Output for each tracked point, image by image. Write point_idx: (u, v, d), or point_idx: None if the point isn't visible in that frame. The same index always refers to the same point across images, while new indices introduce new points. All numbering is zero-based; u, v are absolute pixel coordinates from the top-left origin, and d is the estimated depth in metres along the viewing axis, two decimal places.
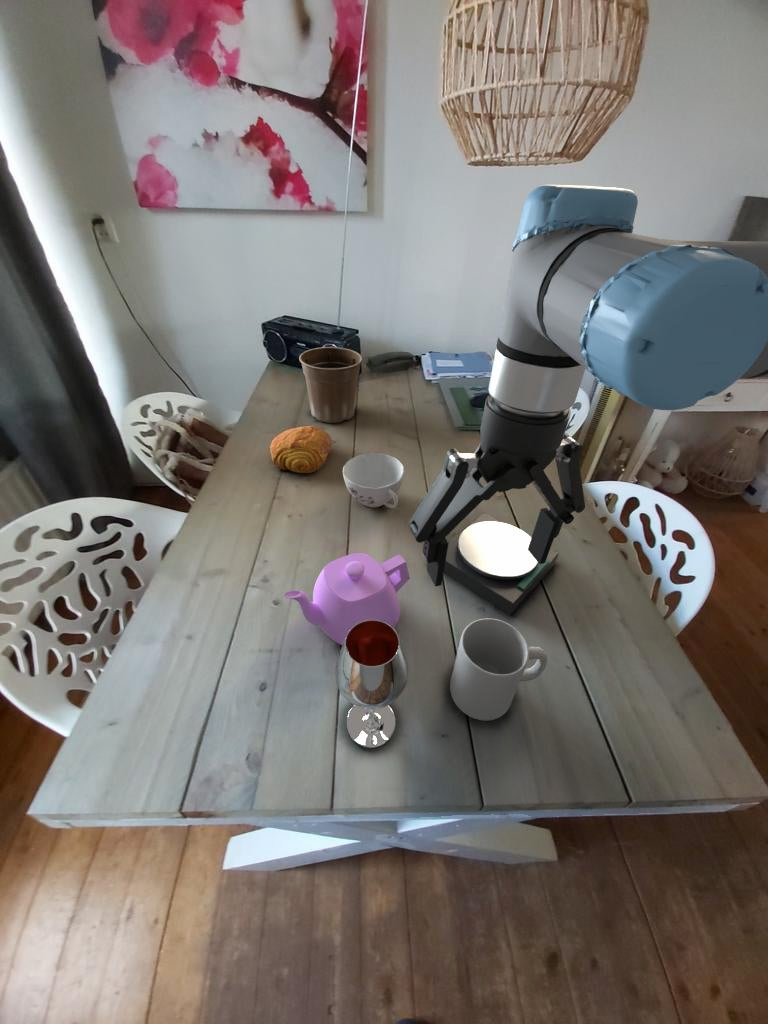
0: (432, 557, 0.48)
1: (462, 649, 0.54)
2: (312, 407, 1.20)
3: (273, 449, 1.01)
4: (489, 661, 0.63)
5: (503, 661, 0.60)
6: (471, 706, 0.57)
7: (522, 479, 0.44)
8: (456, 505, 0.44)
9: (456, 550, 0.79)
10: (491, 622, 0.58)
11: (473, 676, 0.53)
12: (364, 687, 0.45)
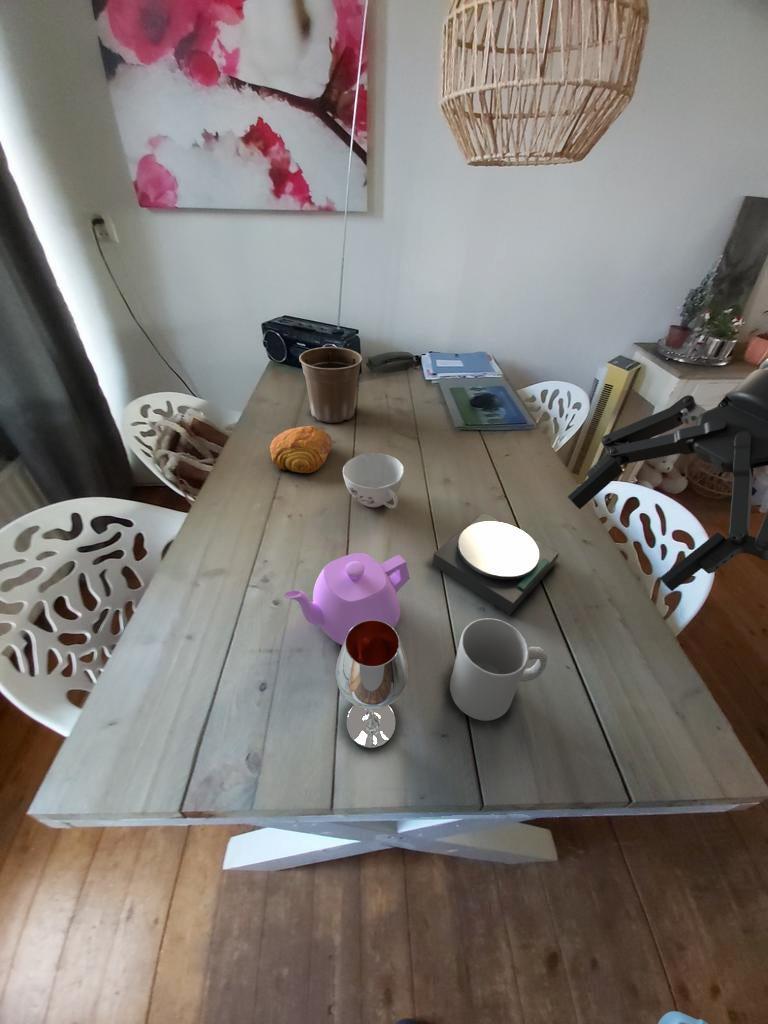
0: (593, 471, 0.52)
1: (462, 649, 0.54)
2: (312, 407, 1.20)
3: (273, 449, 1.01)
4: (489, 661, 0.63)
5: (503, 661, 0.60)
6: (471, 706, 0.57)
7: (725, 450, 0.43)
8: None
9: (456, 550, 0.79)
10: (491, 622, 0.58)
11: (473, 676, 0.53)
12: (364, 687, 0.45)
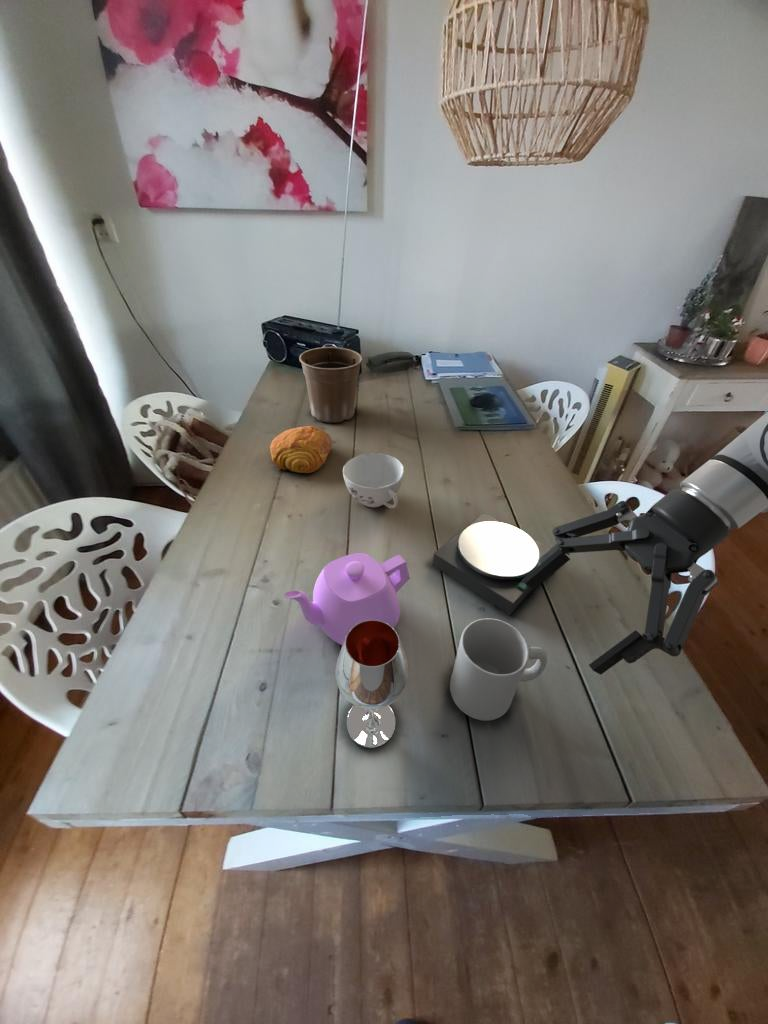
0: (545, 558, 0.60)
1: (462, 649, 0.54)
2: (312, 407, 1.20)
3: (273, 449, 1.01)
4: (489, 661, 0.63)
5: (503, 661, 0.60)
6: (471, 706, 0.57)
7: (647, 556, 0.51)
8: None
9: (456, 550, 0.79)
10: (491, 622, 0.58)
11: (473, 676, 0.53)
12: (364, 687, 0.45)
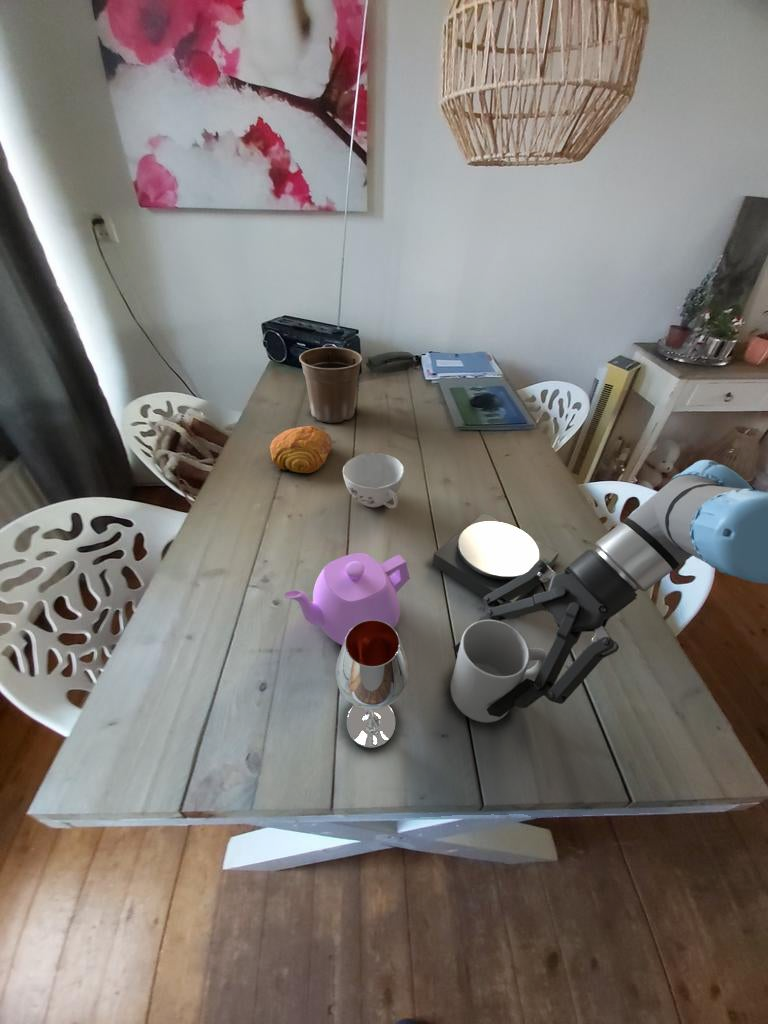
0: None
1: (463, 651, 0.54)
2: (312, 407, 1.20)
3: (273, 449, 1.01)
4: (489, 662, 0.62)
5: (503, 662, 0.60)
6: (472, 708, 0.56)
7: (563, 614, 0.53)
8: None
9: (456, 550, 0.79)
10: (491, 623, 0.57)
11: (474, 678, 0.53)
12: (364, 687, 0.45)
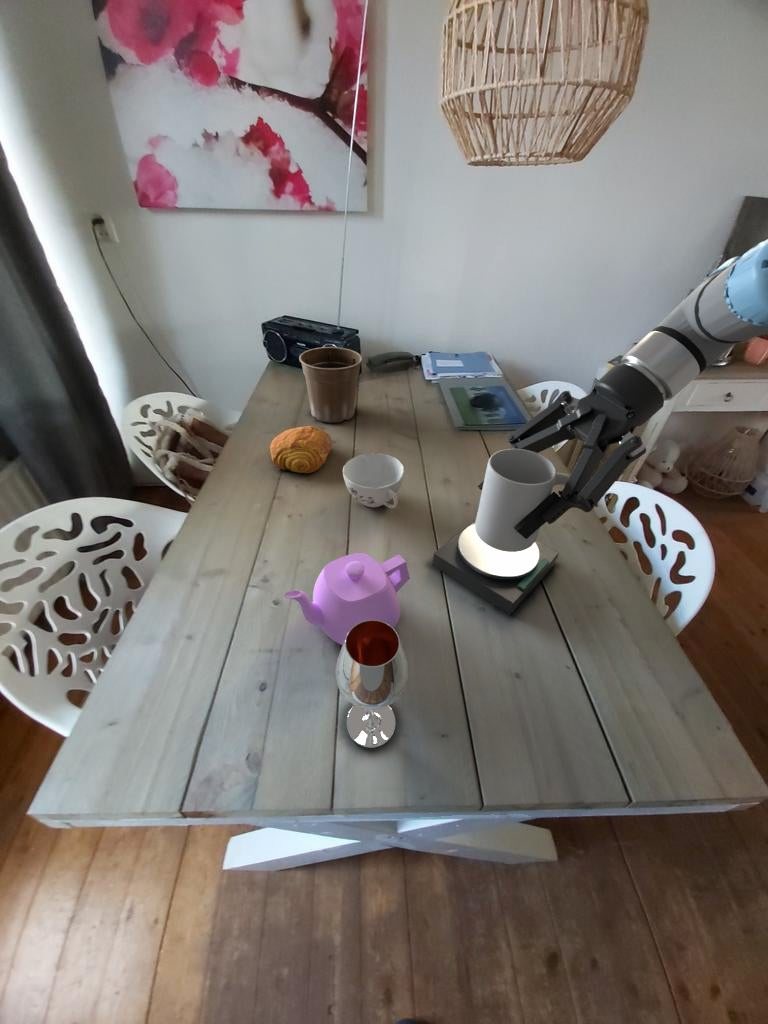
0: None
1: (490, 468, 0.54)
2: (312, 407, 1.20)
3: (273, 449, 1.01)
4: None
5: None
6: (498, 534, 0.57)
7: (589, 429, 0.54)
8: None
9: (456, 550, 0.79)
10: (517, 453, 0.58)
11: (502, 493, 0.53)
12: (364, 687, 0.45)
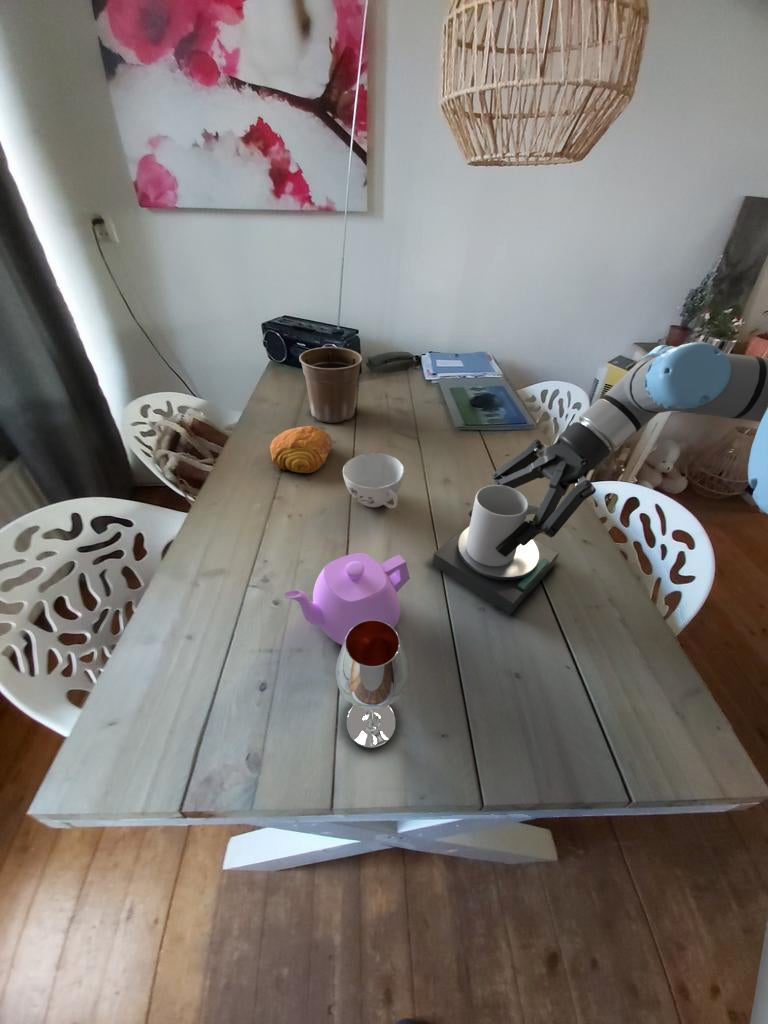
0: None
1: (477, 502, 0.69)
2: (312, 407, 1.20)
3: (273, 449, 1.01)
4: None
5: None
6: (484, 552, 0.72)
7: (554, 472, 0.69)
8: None
9: (456, 550, 0.79)
10: (498, 488, 0.73)
11: (486, 521, 0.69)
12: (364, 687, 0.45)
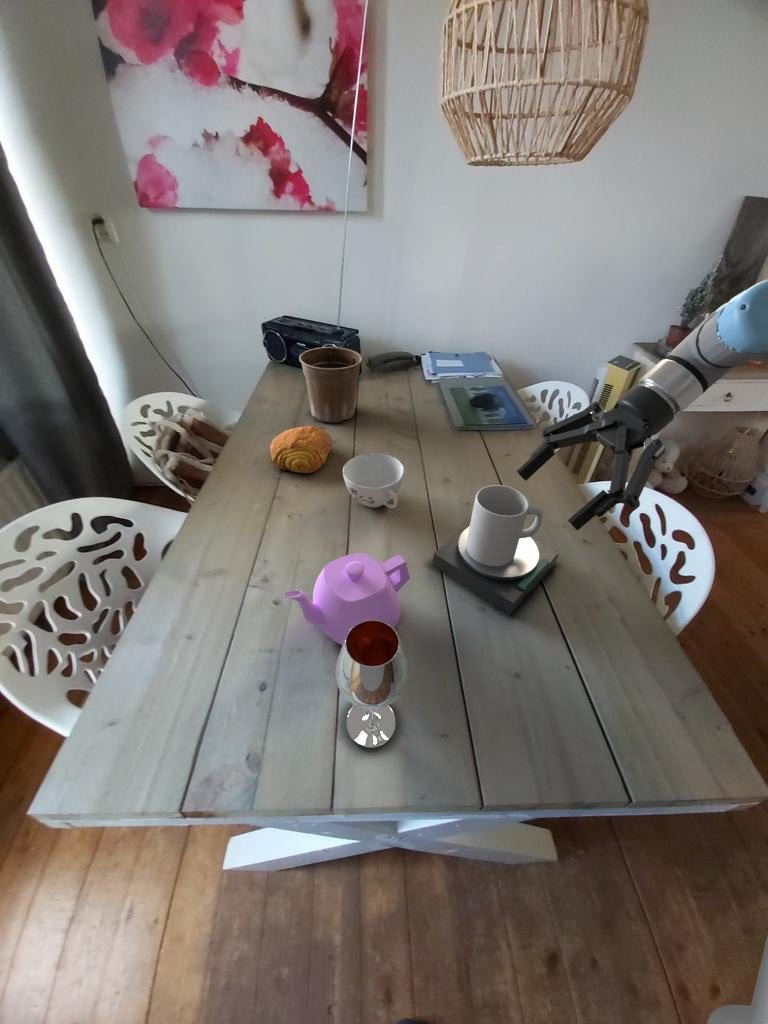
0: (534, 454, 0.75)
1: (477, 502, 0.69)
2: (312, 407, 1.20)
3: (273, 449, 1.01)
4: None
5: None
6: (484, 553, 0.72)
7: (613, 438, 0.66)
8: None
9: (456, 550, 0.79)
10: (498, 488, 0.73)
11: (486, 521, 0.69)
12: (364, 687, 0.45)
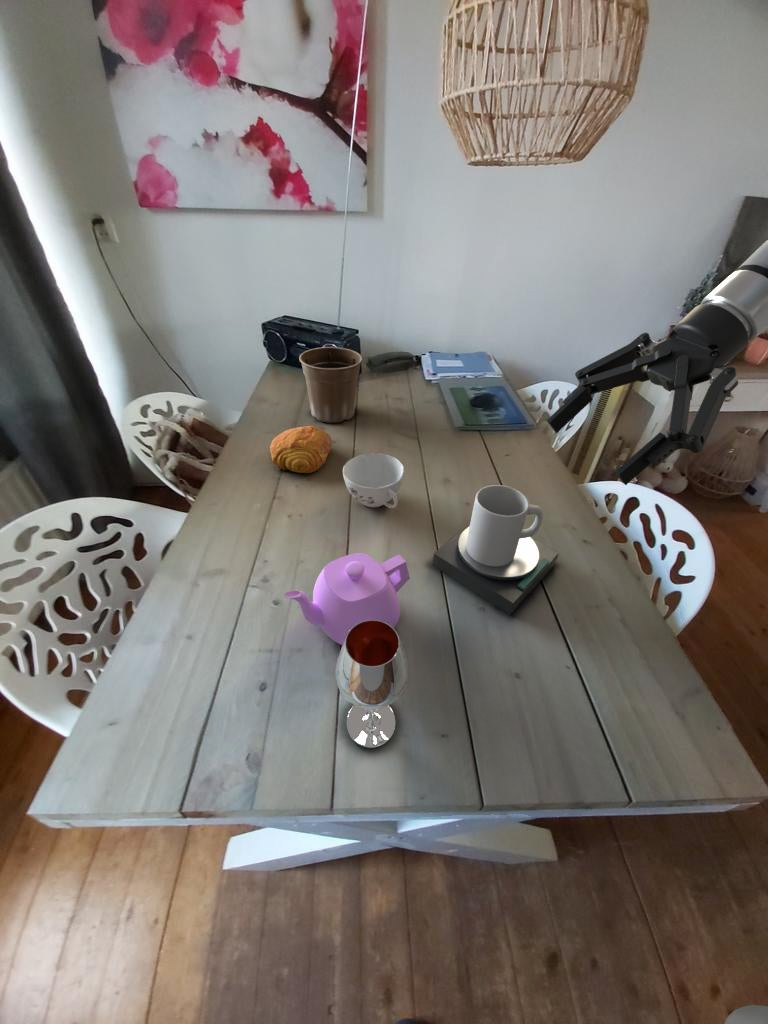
0: (568, 399, 0.63)
1: (477, 502, 0.69)
2: (312, 407, 1.20)
3: (273, 449, 1.01)
4: None
5: None
6: (484, 553, 0.72)
7: (669, 371, 0.54)
8: None
9: (456, 550, 0.79)
10: (498, 488, 0.73)
11: (486, 521, 0.69)
12: (364, 687, 0.45)
